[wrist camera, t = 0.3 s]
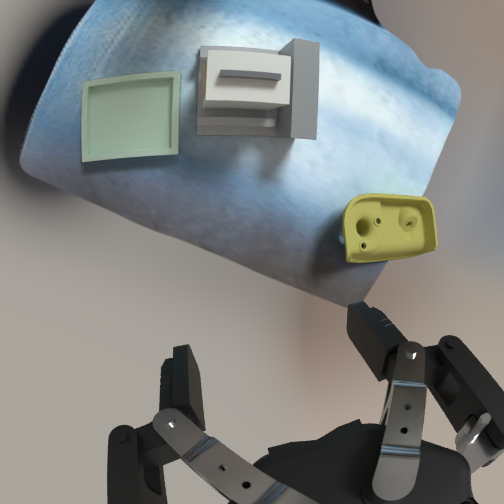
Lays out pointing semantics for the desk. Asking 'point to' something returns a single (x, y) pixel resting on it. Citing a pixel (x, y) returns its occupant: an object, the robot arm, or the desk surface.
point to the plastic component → (388, 227)
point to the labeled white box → (246, 80)
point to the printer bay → (278, 119)
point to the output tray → (131, 116)
